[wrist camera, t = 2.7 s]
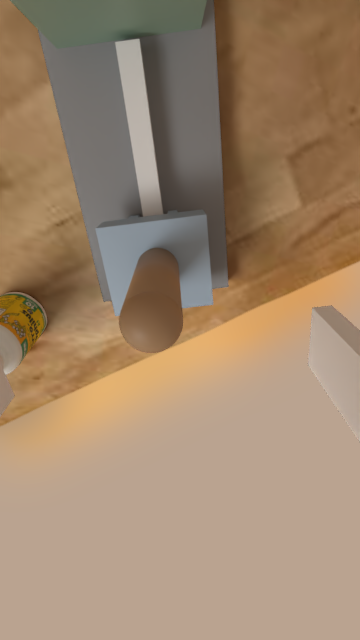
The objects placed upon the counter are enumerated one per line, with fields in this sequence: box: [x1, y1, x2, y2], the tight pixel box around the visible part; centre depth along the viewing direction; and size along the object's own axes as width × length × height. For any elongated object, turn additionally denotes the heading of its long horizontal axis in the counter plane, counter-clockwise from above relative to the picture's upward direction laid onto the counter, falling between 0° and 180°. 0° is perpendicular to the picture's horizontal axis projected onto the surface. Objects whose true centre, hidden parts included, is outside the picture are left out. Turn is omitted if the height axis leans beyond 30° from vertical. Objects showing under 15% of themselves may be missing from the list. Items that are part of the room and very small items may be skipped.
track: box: [10, 0, 228, 302], centre depth 22 cm, size 12×25×10 cm, turn 7°
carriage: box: [95, 209, 213, 353], centre depth 21 cm, size 8×7×15 cm
